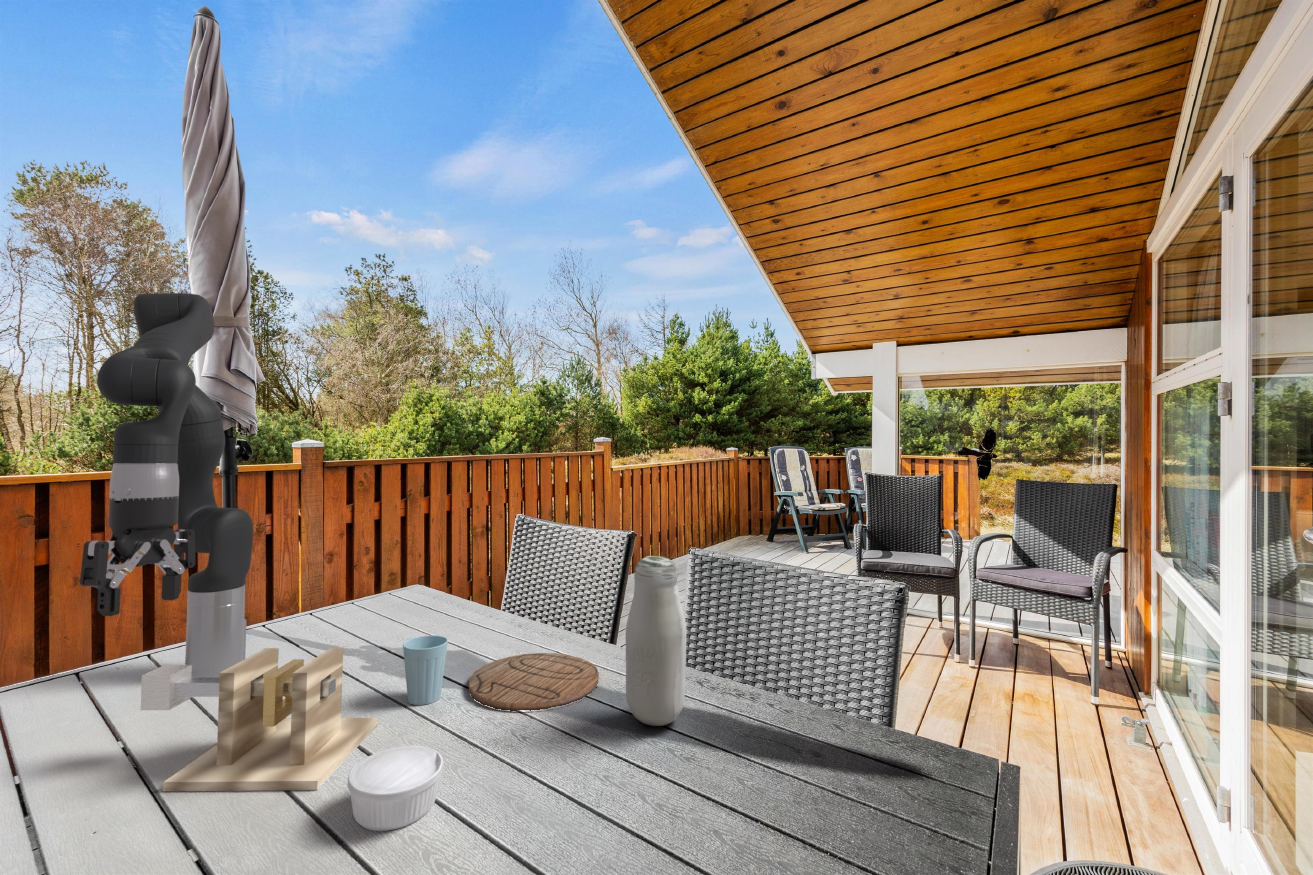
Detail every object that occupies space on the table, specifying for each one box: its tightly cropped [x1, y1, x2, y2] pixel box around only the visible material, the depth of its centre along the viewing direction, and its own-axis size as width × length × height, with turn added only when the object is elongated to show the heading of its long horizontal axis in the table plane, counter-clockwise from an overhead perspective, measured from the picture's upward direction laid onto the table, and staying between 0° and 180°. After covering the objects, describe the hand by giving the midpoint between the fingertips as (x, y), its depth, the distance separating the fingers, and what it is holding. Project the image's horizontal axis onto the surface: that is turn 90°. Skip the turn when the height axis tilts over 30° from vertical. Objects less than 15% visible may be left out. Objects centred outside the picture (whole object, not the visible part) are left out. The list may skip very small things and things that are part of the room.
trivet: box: [468, 652, 600, 711], centre depth 112 cm, size 25×25×2 cm
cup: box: [402, 634, 449, 706], centre depth 104 cm, size 8×8×10 cm
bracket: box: [162, 647, 379, 792], centre depth 85 cm, size 20×18×14 cm
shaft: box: [140, 664, 336, 711], centre depth 85 cm, size 26×4×5 cm, turn 92°
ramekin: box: [347, 745, 444, 832], centre depth 73 cm, size 11×11×5 cm
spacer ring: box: [263, 658, 305, 727], centre depth 85 cm, size 2×7×7 cm, turn 2°
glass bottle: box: [624, 555, 687, 727], centre depth 97 cm, size 10×10×28 cm
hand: (141, 607), depth 82 cm, fingers open, 8 cm apart
